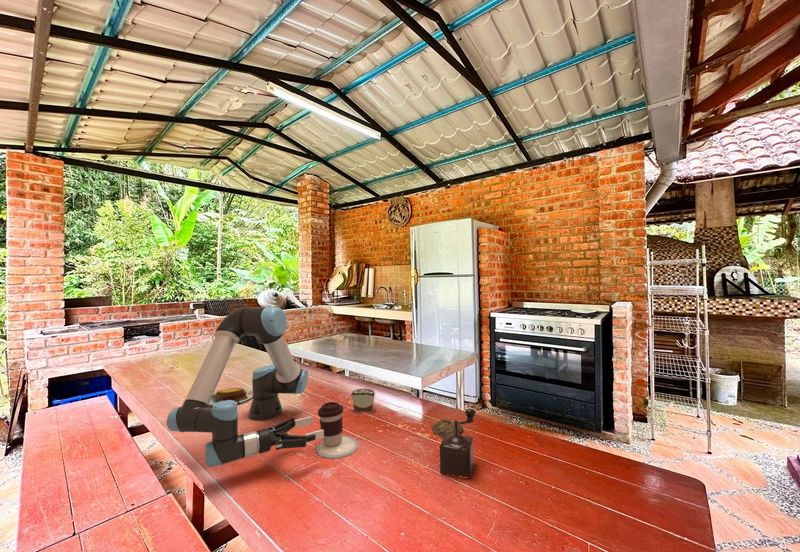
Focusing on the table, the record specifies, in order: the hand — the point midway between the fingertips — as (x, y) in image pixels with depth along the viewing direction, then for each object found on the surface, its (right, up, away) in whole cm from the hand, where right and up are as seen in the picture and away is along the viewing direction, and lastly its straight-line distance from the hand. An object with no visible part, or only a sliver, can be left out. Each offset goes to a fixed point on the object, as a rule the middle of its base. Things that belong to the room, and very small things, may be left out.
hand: (317, 426), depth 123 cm
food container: (+14, -11, +40) cm, 44 cm away
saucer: (+7, -10, +4) cm, 13 cm away
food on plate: (-64, -12, +57) cm, 86 cm away
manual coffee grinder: (+53, -10, -8) cm, 54 cm away
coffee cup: (+5, -10, +6) cm, 12 cm away
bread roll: (+52, -10, +17) cm, 55 cm away
